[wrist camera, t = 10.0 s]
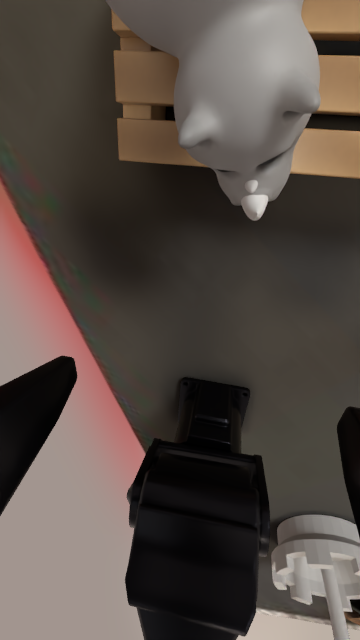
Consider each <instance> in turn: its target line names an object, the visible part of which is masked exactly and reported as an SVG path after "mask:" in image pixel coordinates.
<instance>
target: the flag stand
mask: <svg viewBox="0 0 360 640" xmlns="http://www.w3.org/2000/svg"><path fill="white" fill-rule="evenodd" d="M277 537H278V546H277V547H276V548H275V549H274V550H273V552H272V554H271V561H272V575H273V582H274V585H275V586H276V587H277V589H278V590H287V589H286V584H287V585H289V586H290V592H291V598H292V599H295V600H297V601H299V602H302V603H305V604H308V605H310V604H311V603H312V597H311V594H313V595H317V596H322V597H326V598H327V604H328V609H329V614H330V619H331V625H332V630H333V635H334V640H350V638H349V634H348V629H347V625H346V620H345V616H344V611H347V612H352V608H351V604H350V599H360V538H359V534H358V530H357V526H356V525H355V524H353V523H351V522H349V521H347V520H344V519H341V518H337V517H332V516H326V515H300V516H295V517H292V518H289V519H286V520H285V521H283V522H282V523H281V524H279V526H278V528H277Z"/></svg>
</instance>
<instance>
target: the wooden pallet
mask: <svg viewBox="0 0 360 640" xmlns="http://www.w3.org/2000/svg"><path fill="white" fill-rule="evenodd" d="M111 12H112V29H113V31H114V32H115V33H116V34H118V35H119V36H120V46H121V50H114V71H115V91H116V101H117V102H119V103H121V104H123V118H117V129H118V148H119V160H121V161H134V162H147V163H160V164H173V165H186V166H199V167H208V166H205V165H204V164H202V163H200V162H198V161H196V160H195V159H194V158H192V157H191V156H190V154H189V153H188V152H187V150H186V149H184V148H182V147H180V146H179V143H178V135H179V133H178V130H177V126H176V121H168V120H165V117H166V106H169V107H174V88H175V82H176V77H177V73H178V69H179V59H178V58H177V57H174V56H172V55H170V54H168V53H166V52H164V51H162V50H159V49H157V48H155V47H153V46H151V45H150V44H148V43H147V42H145V41H144V40H143V39H141V38H140V37H139V36H137V35H136V34H135V33H134V32H133V31H131V30H130V29H129V28H128V27H127V26H126V25H125V24H124V23H123V22H122V21H121V19H120V18H119V17H118V16H117V15H116V14H115V13H114V11H113V10H112V9H111ZM301 17H302V20H303V23H304V25H305V27H306V28H307V30H308V32H309V34H310V36H311V37H312V39H313V40H328V41H360V0H304V1H303V5H302V11H301ZM318 58H319V66H320V83H319V94H320V98H321V100H320V107H319V108H318V110H317V111H316V112H314V113H312V114H330V115H350V116H360V56H343V55H318ZM290 174H303V175H316V176H329V177H342V178H355V179H360V131H346V130H329V129H311V128H304V130H303V132H302V134H301V136H300V138H299V140H298V142H297V144H296V146H295V148H294V152H293V159H292V167H291V171H290Z"/></svg>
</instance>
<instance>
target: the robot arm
mask: <svg viewBox="0 0 360 640" xmlns="http://www.w3.org/2000/svg"><path fill="white" fill-rule="evenodd" d="M76 380H77V371H76V366H75V361H74V359H73V358H72V357H67V356H60V357H58V358H56V359H54V360H52V361H50V362H48V363H46V364H44V365H42V366H40V367H38V368H36V369H34V370H32V371H30V372H28V373H26V374H24V375H22V376H20V377H18V378H16V379H14V380H12V381H10V382H8V383H6V384H4V385H2V386H0V516H1V514H2V512H3V511H4V509H5V507H6V506H7V504H8V502H9V501H10V499H11V497H12V496H13V494H14V492H15V490H16V489H17V487H18V486H19V484H20V482H21V480H22V479H23V477H24V476H25V474H26V472H27V471H28V469H29V467H30V466H31V464H32V462H33V461H34V459H35V457H36V456H37V454H38V453H39V451H40V449H41V447H42V446H43V444H44V443H45V441H46V439H47V438H48V436H49V434H50V433H51V431H52V429H53V427H54V426H55V424H56V422H57V421H58V419H59V417H60V415H61V413H62V410H63V408H64V406H65V404H66V402H67V400H68V398H69V395H70V393H71V391H72V389H73V387H74V385H75V383H76ZM185 382H187V383H185ZM249 398H250V390H249V389H248V388H245V387H239V386H234V385H228V384H222V383H217V382H211V381H205V380H199V379H194V378H188V377H184V378H183V379H182V381H181V387H180V400H179V412H178V423H179V424H178V428H177V433H176V437H175V441H174V442H168V441H162V440H161V439H157V438H154V440H153V443H152V445H151V446H150V447H149V449H148V451H147V453H146V455H145V458H144V460H143V462H142V464H141V467H140V469H139V471H138V473H137V475H136V478H135V480H134V482H133V484H132V485H131V487H130V488H129V490H128V493H127V499H128V501H129V504H130V513H129V525H130V527H133V528H134V535H133V540H132V546H131V552H130V558H129V564H128V568H127V573H126V577H125V583H126V591H127V598H128V603H129V605H130V606H134V607H137V611H138V615H139V619H140V623H141V628H142V632H143V636H144V640H236V639H237V637H238V635H241V636H246V634H247V632H248V630H249V627H250V625H251V623H252V621H253V618H254V616H255V613H256V601H257V592H258V562H259V556H263V557H266V556H267V553H268V548H269V538H270V510H269V500H268V493H267V487H266V481H265V475H264V469H263V462H262V456H260V455H254V456H253V455H247V454H241V427H242V423H243V420H244V416H245V412H246V409H247V405H248V401H249ZM337 434H338V440H339V447H340V454H341V461H342V467H343V474H344V479H345V484H346V488H347V492H348V496H349V500H350V503H351V507H352V511H353V515H354V519H355V522H356V526H357V530H358V534H359V538H360V408H356V407H347V408H346V410H345V411H344V413H343V415H342V417H341V419H340V420H339V422H338V425H337Z"/></svg>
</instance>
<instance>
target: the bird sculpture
mask: <svg viewBox="0 0 360 640" xmlns="http://www.w3.org/2000/svg"><path fill="white" fill-rule="evenodd" d="M344 616H345V618H346V619H348V620H350V621H352V622H354V623H356V624H358V625H360V615H359V613H358V612H357V611H355V610H353V609H352V612H347V611H344Z"/></svg>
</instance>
